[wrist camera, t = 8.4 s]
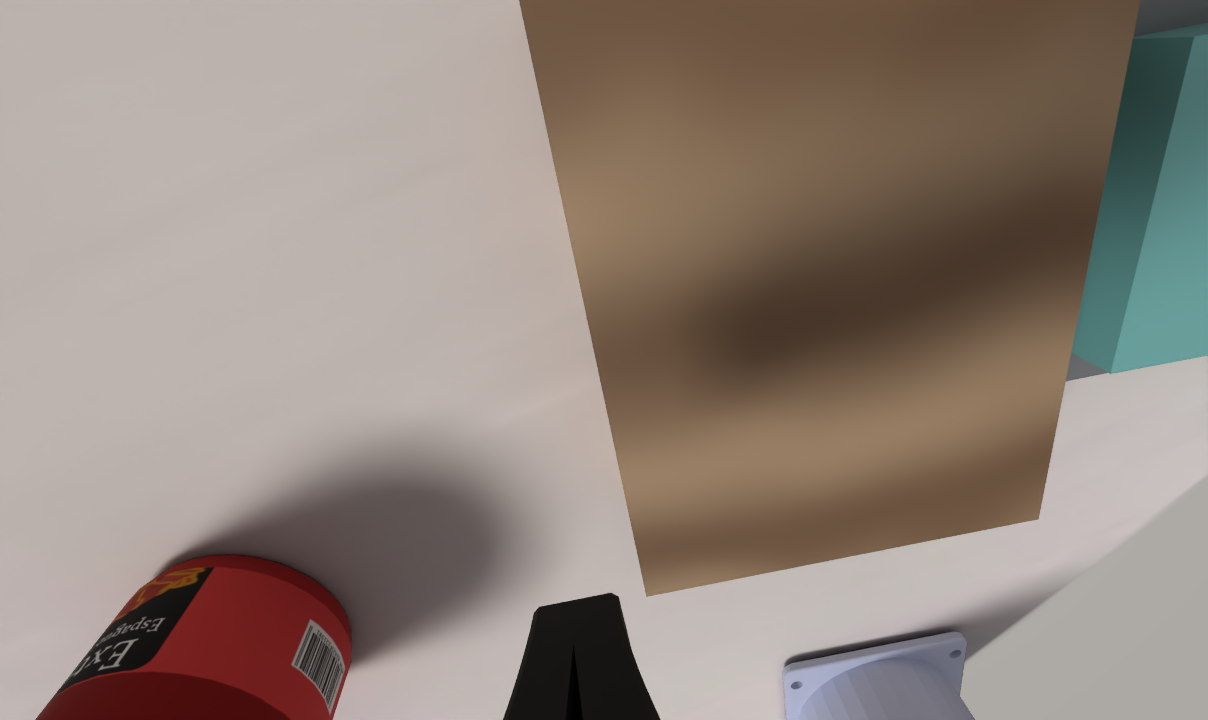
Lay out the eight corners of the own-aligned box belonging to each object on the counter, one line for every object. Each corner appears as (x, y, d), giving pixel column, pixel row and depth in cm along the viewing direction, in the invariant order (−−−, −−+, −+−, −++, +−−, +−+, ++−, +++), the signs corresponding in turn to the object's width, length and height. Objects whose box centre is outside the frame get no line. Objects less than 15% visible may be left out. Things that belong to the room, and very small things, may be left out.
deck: (957, 443, 22) (1038, 519, 18) (630, 508, 22) (646, 596, 18) (1015, -99, 14) (1169, -152, 11) (523, 2, 14) (515, -17, 11)
